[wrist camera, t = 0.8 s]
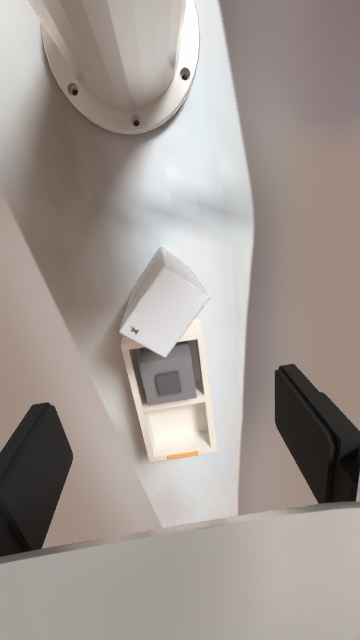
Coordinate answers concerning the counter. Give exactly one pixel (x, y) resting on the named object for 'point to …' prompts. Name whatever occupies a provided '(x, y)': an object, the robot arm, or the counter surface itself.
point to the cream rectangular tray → (175, 405)
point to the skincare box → (163, 303)
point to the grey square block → (168, 375)
